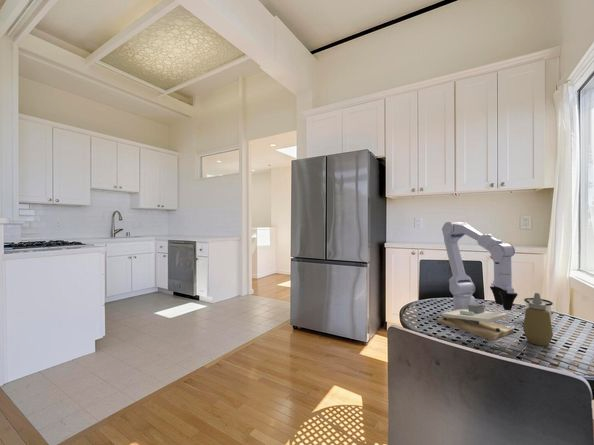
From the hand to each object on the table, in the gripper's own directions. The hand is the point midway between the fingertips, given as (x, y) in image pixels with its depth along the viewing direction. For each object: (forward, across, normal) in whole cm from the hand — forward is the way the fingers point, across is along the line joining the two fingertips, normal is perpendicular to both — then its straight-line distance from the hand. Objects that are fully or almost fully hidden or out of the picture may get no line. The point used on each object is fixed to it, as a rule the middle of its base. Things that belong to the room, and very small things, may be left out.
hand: (503, 307), depth 111 cm
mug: (+10, -14, +17) cm, 24 cm away
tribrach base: (+9, -1, -10) cm, 14 cm away
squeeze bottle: (+10, +10, +7) cm, 16 cm away
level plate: (+4, -1, -10) cm, 11 cm away
